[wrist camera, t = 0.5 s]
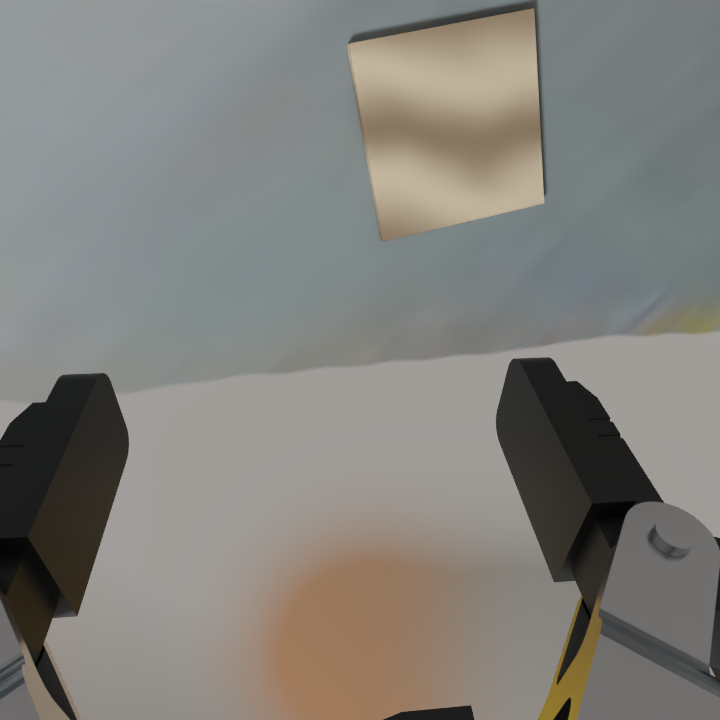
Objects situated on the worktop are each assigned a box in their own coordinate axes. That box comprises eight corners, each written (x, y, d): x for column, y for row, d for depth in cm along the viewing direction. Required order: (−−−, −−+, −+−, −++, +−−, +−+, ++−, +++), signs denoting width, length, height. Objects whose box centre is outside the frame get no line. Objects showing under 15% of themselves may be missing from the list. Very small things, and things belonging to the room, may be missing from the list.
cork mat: (346, 45, 30) (348, 43, 30) (529, 10, 31) (534, 8, 31) (380, 240, 35) (383, 241, 34) (539, 202, 36) (544, 203, 35)
